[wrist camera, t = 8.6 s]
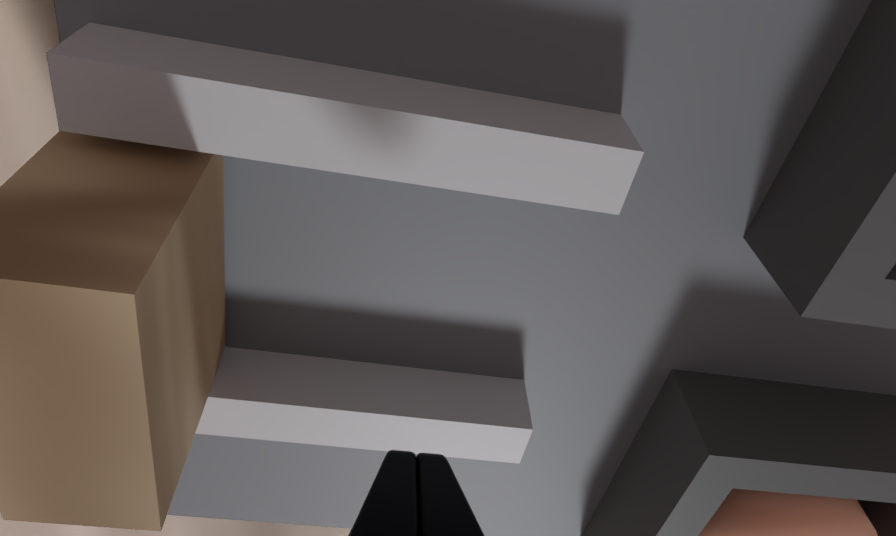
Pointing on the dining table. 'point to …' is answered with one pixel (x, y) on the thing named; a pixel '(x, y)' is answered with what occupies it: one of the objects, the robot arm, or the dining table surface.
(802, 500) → the button terracotta
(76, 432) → the upright wooden block
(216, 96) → the control panel
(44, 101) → the dining table surface
